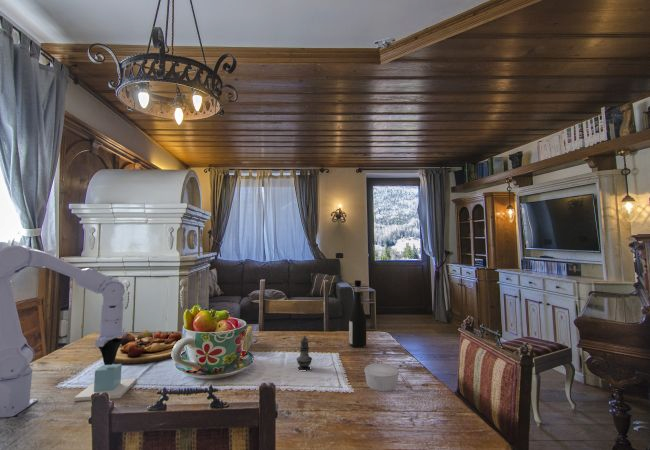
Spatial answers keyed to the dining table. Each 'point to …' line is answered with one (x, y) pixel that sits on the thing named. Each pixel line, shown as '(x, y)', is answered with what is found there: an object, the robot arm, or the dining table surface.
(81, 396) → the post stand
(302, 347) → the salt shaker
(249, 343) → the candy box
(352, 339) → the wine bottle
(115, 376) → the pale blue cube
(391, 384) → the ramekin
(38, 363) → the dining table surface
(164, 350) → the wooden plate with food
